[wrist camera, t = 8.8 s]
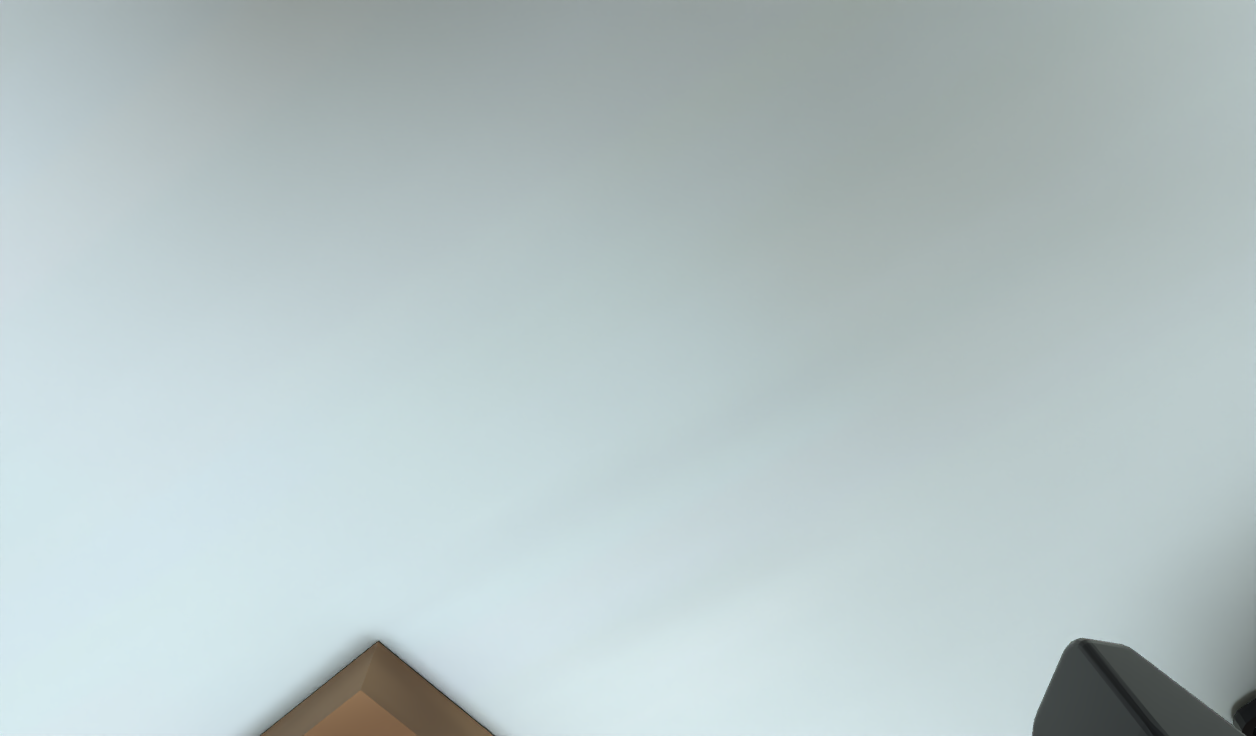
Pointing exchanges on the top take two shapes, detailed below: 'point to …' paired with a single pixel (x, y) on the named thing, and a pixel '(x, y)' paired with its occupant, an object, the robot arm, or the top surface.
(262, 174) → the top surface
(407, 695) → the brown square tray
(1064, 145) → the top surface
